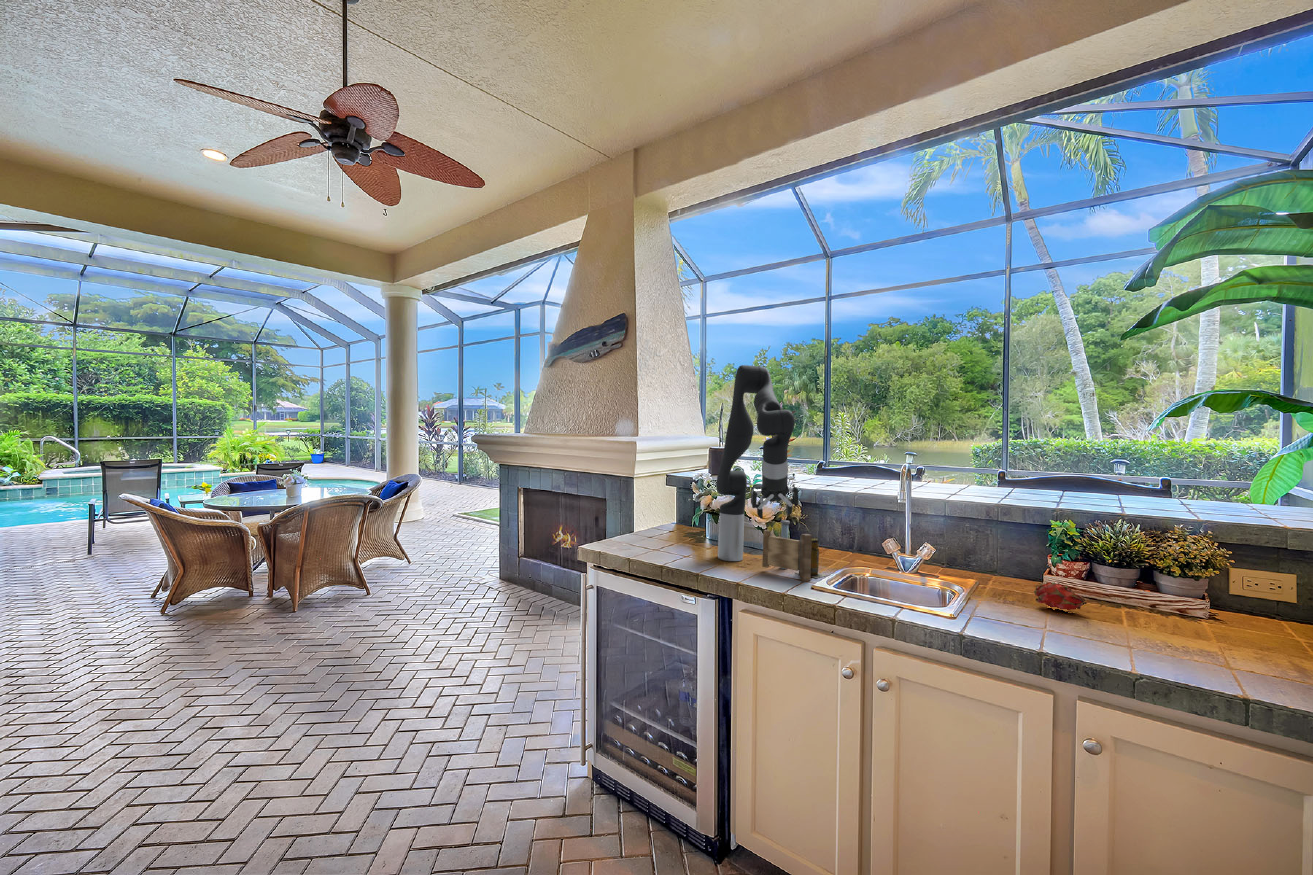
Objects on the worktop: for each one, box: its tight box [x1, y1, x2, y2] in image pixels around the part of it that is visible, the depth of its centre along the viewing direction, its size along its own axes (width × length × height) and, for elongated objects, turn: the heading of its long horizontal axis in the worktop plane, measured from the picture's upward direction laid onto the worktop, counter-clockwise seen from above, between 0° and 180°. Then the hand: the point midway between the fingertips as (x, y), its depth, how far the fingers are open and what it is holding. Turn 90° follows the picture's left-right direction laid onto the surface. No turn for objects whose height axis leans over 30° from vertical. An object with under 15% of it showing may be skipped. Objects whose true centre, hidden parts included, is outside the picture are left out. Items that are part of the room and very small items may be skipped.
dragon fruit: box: [1033, 581, 1088, 611], centre depth 148 cm, size 8×8×12 cm
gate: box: [761, 529, 801, 577], centre depth 177 cm, size 14×2×13 cm, turn 50°
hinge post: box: [799, 533, 813, 583], centre depth 171 cm, size 2×2×15 cm
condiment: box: [794, 537, 828, 579], centre depth 179 cm, size 7×8×12 cm
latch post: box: [779, 519, 791, 570], centre depth 186 cm, size 3×3×17 cm
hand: (774, 515), depth 165 cm, fingers open, 8 cm apart
